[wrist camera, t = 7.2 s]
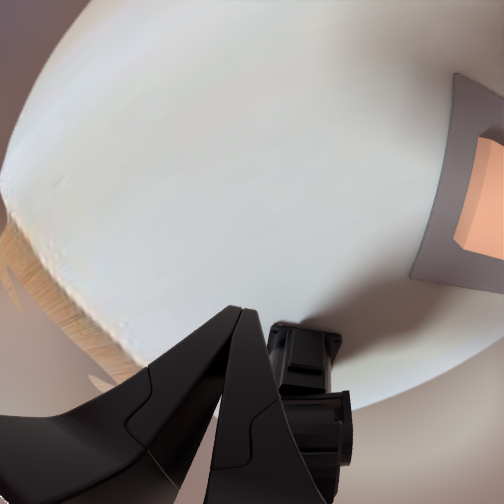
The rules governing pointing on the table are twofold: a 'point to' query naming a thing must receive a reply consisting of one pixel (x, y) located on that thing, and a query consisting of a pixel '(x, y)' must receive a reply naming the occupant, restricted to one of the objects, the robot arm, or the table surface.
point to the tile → (484, 203)
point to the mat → (461, 194)
